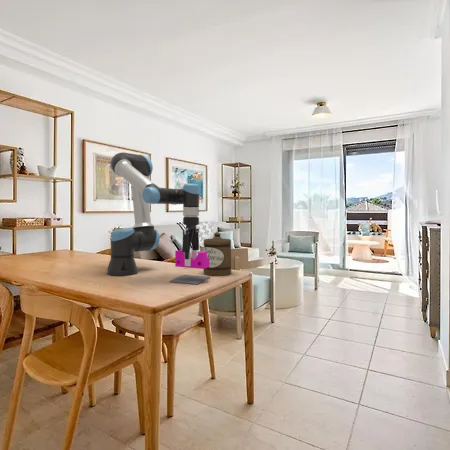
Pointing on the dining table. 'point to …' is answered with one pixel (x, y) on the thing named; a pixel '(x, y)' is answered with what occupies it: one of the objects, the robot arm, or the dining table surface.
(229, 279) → the dining table surface
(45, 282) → the dining table surface
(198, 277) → the mat
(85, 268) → the dining table surface
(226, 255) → the wooden container
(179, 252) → the toy block
